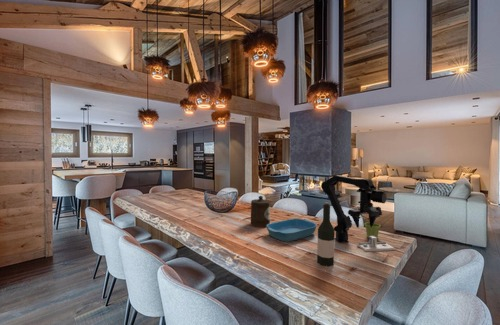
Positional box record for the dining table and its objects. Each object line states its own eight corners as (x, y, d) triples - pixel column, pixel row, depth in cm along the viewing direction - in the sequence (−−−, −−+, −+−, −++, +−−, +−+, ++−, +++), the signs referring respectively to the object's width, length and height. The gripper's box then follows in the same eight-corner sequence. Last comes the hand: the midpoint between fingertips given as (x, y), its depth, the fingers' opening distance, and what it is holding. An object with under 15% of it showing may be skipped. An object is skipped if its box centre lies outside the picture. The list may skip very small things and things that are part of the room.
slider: (372, 247, 134) (372, 238, 134) (368, 244, 138) (368, 236, 138) (377, 246, 134) (377, 238, 134) (373, 244, 138) (373, 235, 138)
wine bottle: (330, 259, 121) (331, 201, 120) (337, 266, 113) (338, 204, 112) (314, 259, 121) (315, 201, 120) (319, 266, 112) (321, 204, 112)
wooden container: (270, 227, 173) (271, 197, 172) (250, 227, 173) (250, 197, 172) (269, 221, 188) (269, 194, 187) (250, 221, 188) (251, 194, 187)
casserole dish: (283, 246, 138) (283, 234, 138) (259, 235, 156) (260, 224, 156) (322, 234, 159) (323, 224, 159) (298, 226, 178) (298, 216, 177)
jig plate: (365, 251, 132) (365, 247, 131) (357, 245, 139) (357, 242, 139) (394, 250, 134) (394, 246, 134) (384, 244, 142) (385, 241, 142)
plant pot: (371, 240, 148) (372, 227, 148) (360, 235, 157) (361, 223, 157) (383, 239, 150) (384, 226, 150) (372, 234, 160) (372, 222, 159)
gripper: (361, 203, 126) (360, 232, 126) (390, 202, 130) (389, 230, 131) (347, 199, 137) (347, 226, 137) (375, 199, 141) (374, 224, 142)
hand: (364, 227), depth 136 cm, fingers open, 9 cm apart
